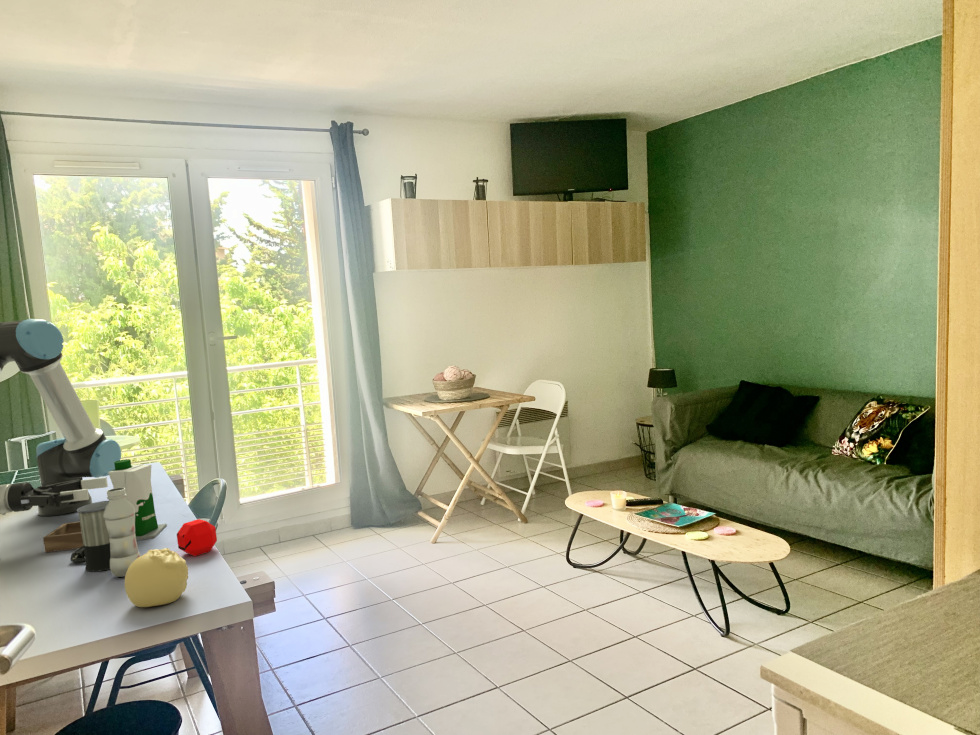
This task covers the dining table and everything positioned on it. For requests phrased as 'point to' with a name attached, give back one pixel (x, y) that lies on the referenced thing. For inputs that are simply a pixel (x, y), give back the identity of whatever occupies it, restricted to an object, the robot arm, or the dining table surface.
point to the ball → (196, 537)
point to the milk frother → (93, 538)
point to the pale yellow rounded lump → (156, 578)
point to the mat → (152, 532)
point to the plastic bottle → (120, 531)
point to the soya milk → (136, 493)
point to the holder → (64, 538)
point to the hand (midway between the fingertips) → (97, 488)
